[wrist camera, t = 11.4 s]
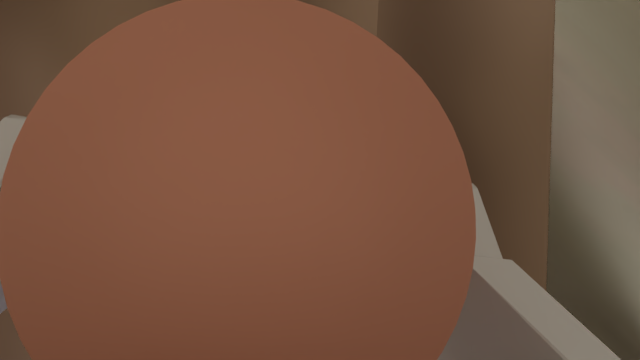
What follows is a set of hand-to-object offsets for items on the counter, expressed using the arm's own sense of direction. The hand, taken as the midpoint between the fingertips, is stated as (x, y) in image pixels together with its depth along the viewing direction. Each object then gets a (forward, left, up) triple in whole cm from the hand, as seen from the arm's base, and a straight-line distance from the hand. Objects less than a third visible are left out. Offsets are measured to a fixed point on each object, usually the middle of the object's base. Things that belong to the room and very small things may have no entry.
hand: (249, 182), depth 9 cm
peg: (0, +1, -6) cm, 6 cm away
